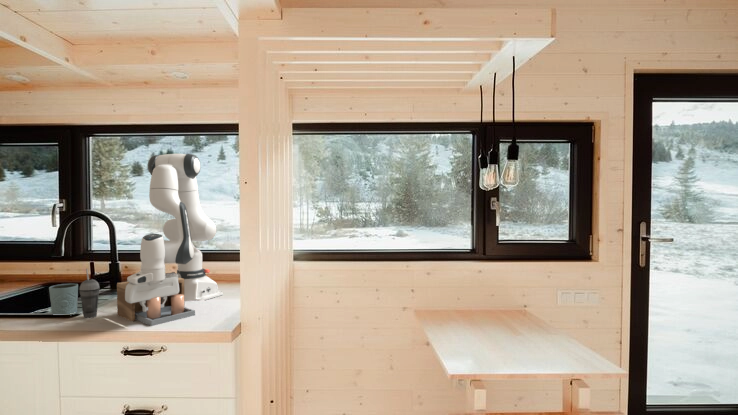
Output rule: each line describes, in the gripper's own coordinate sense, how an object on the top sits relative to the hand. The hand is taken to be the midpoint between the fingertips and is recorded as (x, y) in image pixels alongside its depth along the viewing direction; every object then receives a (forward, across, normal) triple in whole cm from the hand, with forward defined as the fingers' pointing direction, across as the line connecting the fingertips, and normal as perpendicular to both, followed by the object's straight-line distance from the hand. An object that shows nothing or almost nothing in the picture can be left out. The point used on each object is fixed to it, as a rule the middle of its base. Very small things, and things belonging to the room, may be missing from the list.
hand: (153, 309), depth 171 cm
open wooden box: (+5, -5, -12) cm, 14 cm away
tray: (+5, -5, -1) cm, 7 cm away
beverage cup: (+5, +13, -27) cm, 30 cm away
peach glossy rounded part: (+4, -10, 0) cm, 11 cm away
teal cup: (+5, +18, -40) cm, 44 cm away
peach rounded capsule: (+3, 0, 0) cm, 3 cm away
